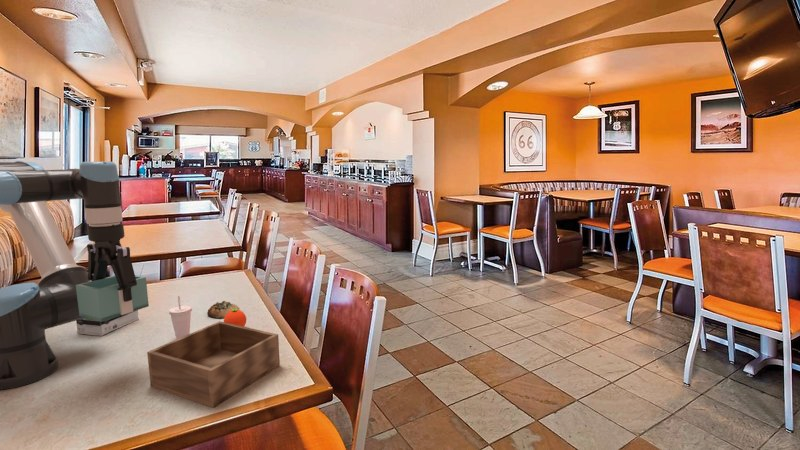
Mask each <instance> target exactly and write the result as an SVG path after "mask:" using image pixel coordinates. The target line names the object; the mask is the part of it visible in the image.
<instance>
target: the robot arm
mask: <svg viewBox="0 0 800 450" xmlns="http://www.w3.org/2000/svg"><path fill="white" fill-rule="evenodd" d="M78 199H79V200H81V199H82V200H83V205H84V214H85V222H86V224H87V225H88V226H87V228H86V231H87V239H88V240H89V241H90V242H93V243H89V244H87V245H86V248H87V267H85V266H81V265H78V264H77V263H76V260H75V258H74V256H73V254H72V253H71V251H70V249H69V247H68V245H67V243H66V241H65V239H64V237H63V235H62V233H61V231H60V229H59V227H58V225H57V222H55V220H54V217H53V215H52V212H51V211H50V209H49V208H48V205H47V203H48V202H53V201H54V202H55V201H66V200H78ZM121 201H122V199H121V190H120V176H119V174H118V167H117V164H116V163H115V162H113V161H82V162H81V163H80V164H79V168H67V169H45V168H44V167H43V166H41V165H40V164H39V163H36V162H32V161H21V160H19V161H13V162H12V161H10V162H9V161H2V162H1V161H0V209H1V210H2V211H4V212H5V213H8V214H10V215H11V217H12V219H13V222H14V224H15V227H16V228H17V230H18V232H19V234H20V236H21V238H22V240H23V242H24V245H25V246H26V248H27V250H28V252H29V254H30V257H31V259H32V260H33V262H34V265H35V267H36V269H37V271H38V273H39V275H40V277H41V278H40V280H39V281H38V283H36V282H22V283H19V284H18V283H16V284H12V285H7V286H4V287H1V288H0V390H7V389H14V388H18V387H22V386H25V385H28V384H31V383H32V384H33V383H35V382H38V381H40V380H43V379H44V378H46V377H48V376H50V375H52V374H53V373H54V372H55V371H57V369H58V368H59V363H58V358H57V355H56V354H55V353H54V351H53V350H52V348H51V346H50V344H48V341H47V339H46V330H48V329H51V328H55V327H58V326H62V325H65V324H68V323H72V322H76V320H80V319H85V317H81V316H79V308H78V300H77V292H76V285H78V284H82V283H86V282H91V281H95V280H99V279H103V278H107V277H106V276H107V271H108V267H109V266H111V269H112V271H113V274H114V276H115V277H116V279H117V282H118V284H119V286H120V288H118V289H117V290H118V295H119V304H120V313H121V315H124V314H127V313H130V312H133V305H132V295H131V294H132V293H131V287H133V286H136V285H137V282H136V278H135V275H136V274H135V269H134V266H133V263H132V259H131V248H130V247H129V246H127V247H123V246H122V243H121V240H122V239H124V238H125V228H124V224H123V223H122V221H123V213H122V212H123V209H122V203H121ZM131 281H132V282H131Z"/></svg>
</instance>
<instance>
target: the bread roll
mask: <svg viewBox="0 0 800 450" xmlns="http://www.w3.org/2000/svg"><path fill="white" fill-rule="evenodd" d="M232 309H237V310H240V307H239V306H238V305H237V304H233V303H231V302H230V301H225V300H223V301H222V302H219V301H217V302H216V303H214V304H212V305H211V306H210V308H208V310H207V312H206V314H207V317H209V318H212V319H215V318H216V319H224V318H225V316H226V314H227V313H228V312H230V311H232Z"/></svg>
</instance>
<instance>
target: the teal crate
mask: <svg viewBox="0 0 800 450" xmlns="http://www.w3.org/2000/svg"><path fill="white" fill-rule="evenodd" d="M135 278H136V282H137V285H136V286H133V287H131V293H132V294H131V295H132V305H133V311H136V310H138V311H139V310H142V309H145V308H148V307H149V306H150V305H149V295H148V286H147V285H148V284H147V283H148V282H147V277H146V276H142V275H141V276H140V275H136V274H135ZM131 282H132V281H131ZM118 288H120V286H119V284H118V282H117V279H116V277H115V275H112V276H108V277H105V278H103V279H99V280H95V281H91V282H86V283H82V284H78V285H76V292H77V300H78V308H79V316H81V317H85V318H89V319H92V320H96V321H100V322H102V321H105V320H108V319H112V318H115V317H118V316H121V313H120V304H119V295H118V290H117V289H118Z"/></svg>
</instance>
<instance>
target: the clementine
mask: <svg viewBox="0 0 800 450" xmlns="http://www.w3.org/2000/svg"><path fill="white" fill-rule="evenodd" d="M223 322H225V323H229V324H234V325H238V326H243V327H245V325H246V324H247V316H246V313H244V311H242V310H240V309H239V310H237V309H232V311H230V312H228V313H227V314H226V316H225V318H223Z"/></svg>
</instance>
